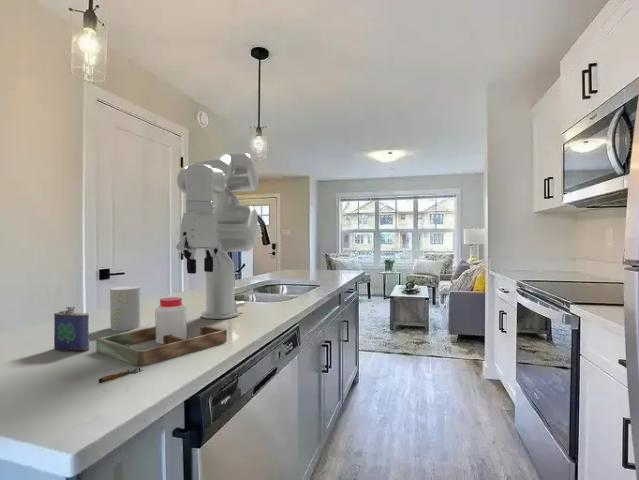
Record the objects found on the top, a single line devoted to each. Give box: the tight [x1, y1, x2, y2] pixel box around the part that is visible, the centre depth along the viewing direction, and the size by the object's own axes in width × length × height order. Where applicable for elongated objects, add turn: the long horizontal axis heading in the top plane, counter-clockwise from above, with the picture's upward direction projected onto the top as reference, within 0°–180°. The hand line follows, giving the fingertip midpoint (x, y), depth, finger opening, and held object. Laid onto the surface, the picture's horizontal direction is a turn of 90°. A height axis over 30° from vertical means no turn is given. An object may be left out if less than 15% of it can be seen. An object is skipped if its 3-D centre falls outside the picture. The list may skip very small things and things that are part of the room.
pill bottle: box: [154, 296, 188, 345], centre depth 106 cm, size 8×8×11 cm
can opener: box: [98, 366, 144, 384], centre depth 79 cm, size 9×2×1 cm, turn 142°
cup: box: [109, 285, 141, 332], centre depth 120 cm, size 8×8×12 cm
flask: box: [53, 306, 90, 353], centre depth 97 cm, size 9×3×11 cm, turn 78°
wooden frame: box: [95, 325, 228, 367], centre depth 100 cm, size 24×19×3 cm
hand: (200, 271), depth 113 cm, fingers open, 5 cm apart
